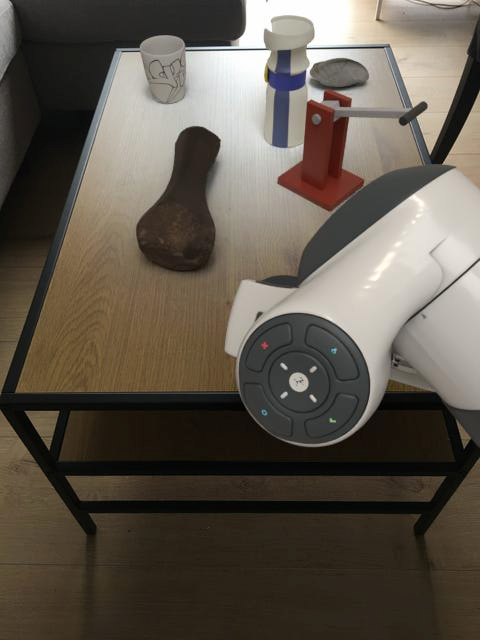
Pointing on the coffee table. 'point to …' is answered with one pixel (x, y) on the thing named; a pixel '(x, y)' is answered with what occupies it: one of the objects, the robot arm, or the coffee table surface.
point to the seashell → (339, 72)
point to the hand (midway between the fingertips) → (347, 328)
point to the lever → (377, 112)
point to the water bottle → (287, 79)
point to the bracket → (323, 157)
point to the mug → (165, 67)
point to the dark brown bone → (183, 207)
